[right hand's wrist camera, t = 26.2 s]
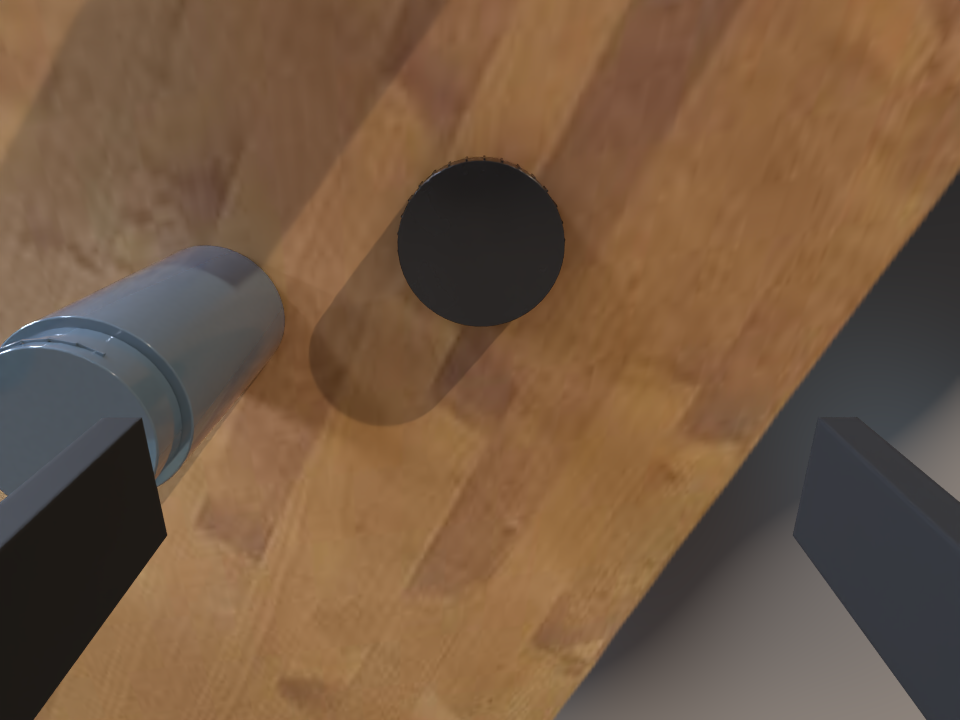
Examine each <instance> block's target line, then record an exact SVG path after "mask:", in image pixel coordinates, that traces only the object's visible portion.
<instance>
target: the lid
mask: <svg viewBox="0 0 960 720" xmlns="http://www.w3.org/2000/svg"><path fill="white" fill-rule="evenodd" d="M547 192H548V190H547V189H546V188H545V186H542V185H541V184H540V183H539V182H538V181H537V180H536V179H535V176H534V175H533V174H531V175H530V174H529V173H528V172H527V171H525V170H524V169H522V168H520V166H519V165H518V164H517V165H515V164H512V163H510V162H508V161H504V160H503V158H501V159H497V158H490V157H485V156H484V155H483V157H473V158H468V157H466V158H465V159H462V160H458V161H455V162H452V163H451V161H450V162H449V163H448V165H445V166H444V167H442V168H440V169H439V170H437V171H436V170H434V171H433V173H432V175H431V176H429V177H428V178H427V179H426V180H425V181H424V182H423V181H422V182H421V183H420V184H419V188H418V189H417V191H416V192H415V194H414V195H412V196H411V197H410V198H409V200H408V201H409V203H408V205H407V206H406V208H405V210H404V212H403V214H402V215H401V218H402V219H401V222H400V227H399V231H398V234H397V235H398V255H399V260H400V265H401V268H402V271H403V274H404V276H405V278H406V281H407V283H408V284H409V286H410V288H411V289H412V291H413V292H414V293H415V295H416V296H417V297H418V298H419V299H420V301H421V302H423V303H424V304H425V305H426V306H427V307H428V308H429V309H431V310H432V311H433V312H435V313H436V314H438V315H440V316H442V317H443V318H445V319H448V320H450V321H453V322H455V323H459V324H463V325H469V326H494V325H499V324H503V323H507V322H509V321H512V320H515V319H517V318H519V317H521V316H522V315H524V314H526V313H527V312H529V311H530V310H532V309H533V308H534V307H535V306H536V305H538V304H539V303H540V302H541V301H542V300H543V299H544V297H545V296H546V295H547V294H548V293H549V291H550V290H551V288H552V286H553V285H554V283H555V281H556V279H557V277H558V275H559V272H560V269H561V266H562V262H563V258H564V246H565V238H564V230H563V225H562V224H563V221H562V220H561V218H560V215H559V212H558V210H557V208H556V207H557V205H556V203H555V202H554V201H553V200H552V199H551V197H550V196H549V194H548V193H547Z"/></svg>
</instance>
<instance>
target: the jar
mask: <svg viewBox="0 0 960 720" xmlns="http://www.w3.org/2000/svg"><path fill="white" fill-rule="evenodd" d="M284 326H285V316H284V308H283V304H282V301H281V298H280V296H279V293H278V291H277V289H276V287H275V286H274V284H273V282H272V281H271V280H270V278H269V277H268V276H267V274H266V273H265V272H264V271H263V270H262V269H261V268H260V267H259V266H257V265H256V264H255V263H254V262H252V261H251V260H249V259H248V258H246V257H245V256H243V255H241V254H239V253H237V252H235V251H232V250H229V249H226V248H222V247H217V246H194V247H189V248H185V249H182V250H180V251H178V252H175V253H173V254H171V255H169V256H167V257H165V258H163V259H161V260H159V261H157V262H155V263H153V264H151V265H149V266H147V267H145V268H143V269H141V270H138V271H136V272H134V273H132V274H130V275H128V276H126V277H124V278H122V279H120V280H118V281H116V282H114V283H112V284H110V285H108V286H106V287H104V288H102V289H99V290H97V291H95V292H93V293H91V294H89V295H87V296H85V297H83V298H81V299H79V300H77V301H75V302H73V303H71V304H69V305H67V306H65V307H63V308H60V309H58V310H56V311H54V312H52V313H50V314H48V315H46V316H44V317H42V318H40V319H38V320H36V321H34V322H32V323H30V324H28V325H26V326H24V327H22V328H21V329H19V330H18V331H16V332H15V333H13V334H12V335H11V336H10V337H9V338H8V339H7V340H6V341H5V342H4V343H3V344H2V346H1V347H0V490H1V491H3V492H4V494H6V495H10V494H11V493H12V492H13V491H15V490H16V489H17V488H18V487H19V486H21V485H22V484H23V483H24V482H25V481H27V480H28V479H29V478H30V477H31V476H33V475H34V474H35V473H36V472H37V471H39V470H40V469H41V468H42V467H43V466H45V465H46V464H47V463H48V462H49V461H51V460H52V459H53V458H54V457H55V456H57V455H58V454H59V453H60V452H61V451H63V450H64V449H65V448H66V447H68V446H69V445H70V444H71V443H72V442H74V441H75V440H76V439H77V438H78V437H80V436H81V435H82V434H83V433H84V432H86V431H87V430H88V429H89V428H90V427H92V426H93V425H94V424H95V423H96V422H98V421H99V420H100V419H101V418H102V417H142V420H143V425H144V429H145V434H146V439H147V443H148V448H149V453H150V457H151V462H152V467H153V471H154V476H155V481H156V485H157V487H158V486H160V485H162V484H163V483H165V482H166V481H167V480H169V479H170V478H171V477H172V476H173V475H174V474H175V473H176V472H177V471H178V470H179V469H180V468H181V467H182V465H183V464H184V463H185V462H186V461H187V459H188V458H189V457H190V456H191V454H192V453H193V452H194V451H195V450H196V448H197V447H198V446H199V445H200V444H201V442H202V441H203V440H204V439H205V437H206V436H207V435H208V434H209V433H210V431H211V430H212V429H213V428H214V427H215V425H216V424H217V423H218V422H219V420H220V419H221V418H222V417H223V416H224V414H225V413H226V412H227V411H228V410H229V408H230V407H231V406H232V405H233V403H234V402H235V401H236V400H237V399H238V397H239V396H240V395H241V394H242V393H243V391H244V390H245V389H246V388H247V386H248V385H249V384H250V383H251V382H252V380H253V379H254V378H255V377H256V376H257V374H258V373H259V372H260V371H261V369H262V368H263V367H264V366H265V365H266V363H267V362H268V361H269V360H270V359H271V357H272V356H273V355H274V353H275V352H276V350H277V349H278V347H279V345H280V343H281V340H282V337H283V333H284Z"/></svg>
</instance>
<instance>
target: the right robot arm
mask: <svg viewBox="0 0 960 720" xmlns="http://www.w3.org/2000/svg"><path fill="white" fill-rule="evenodd" d="M166 536H167V532H166V527H165V523H164V518H163V513H162V509H161V504H160V499H159V495H158V490H157V485H156V481H155V476H154V471H153V467H152V462H151V457H150V453H149V448H148V443H147V439H146V434H145V429H144V425H143V420H142V417H102V418H101V419H100V420H99V421H98V422H96V423H95V424H94V425H93V426H92V427H90V428H89V429H88V430H87V431H86V432H84V433H83V434H82V435H81V436H80V437H78V438H77V439H76V440H75V441H74V442H72V443H71V444H70V445H69V446H68V447H66V448H65V449H64V450H63V451H61V452H60V453H59V454H58V455H57V456H55V457H54V458H53V459H52V460H51V461H49V462H48V463H47V464H46V465H45V466H43V467H42V468H41V469H40V470H39V471H37V472H36V473H35V474H34V475H33V476H31V477H30V478H29V479H28V480H27V481H25V482H24V483H23V484H22V485H21V486H19V487H18V488H17V489H16V490H15V491H13V492H12V493H11V494H10V495H8V496H7V497H6V498H5V499H4V500H2V501H1V502H0V720H34V718H35V717H36V716H37V714H38V713H39V711H40V710H41V709H42V707H43V706H44V705H45V703H46V702H47V700H48V699H49V698H50V696H51V695H52V694H53V692H54V691H55V689H56V688H57V687H58V685H59V684H60V682H61V681H62V680H63V678H64V677H65V676H66V674H67V673H68V671H69V670H70V669H71V667H72V666H73V665H74V663H75V662H76V660H77V659H78V658H79V656H80V655H81V654H82V652H83V651H84V649H85V648H86V647H87V645H88V644H89V643H90V641H91V640H92V638H93V637H94V636H95V634H96V633H97V631H98V630H99V629H100V627H101V626H102V625H103V623H104V622H105V620H106V619H107V618H108V616H109V615H110V614H111V612H112V611H113V609H114V608H115V607H116V605H117V604H118V603H119V601H120V600H121V598H122V597H123V596H124V594H125V593H126V591H127V590H128V589H129V587H130V586H131V585H132V583H133V582H134V580H135V579H136V578H137V576H138V575H139V574H140V572H141V571H142V569H143V568H144V567H145V565H146V564H147V563H148V561H149V560H150V558H151V557H152V556H153V554H154V553H155V552H156V550H157V549H158V547H159V546H160V545H161V543H162V542H163V540H164V539H165V538H166ZM793 536H794V538H795V539H796V540H797V542H798V543H799V545H800V546H801V547H802V549H803V550H804V552H805V553H806V554H807V556H808V557H809V558H810V560H811V561H812V562H813V564H814V565H815V567H816V568H817V569H818V571H819V572H820V574H821V575H822V576H823V578H824V579H825V580H826V582H827V583H828V585H829V586H830V587H831V589H832V590H833V591H834V593H835V594H836V596H837V597H838V598H839V600H840V601H841V602H842V604H843V605H844V607H845V608H846V609H847V611H848V612H849V614H850V615H851V616H852V618H853V619H854V620H855V622H856V623H857V625H858V626H859V627H860V629H861V630H862V631H863V633H864V634H865V636H866V637H867V638H868V640H869V641H870V643H871V644H872V645H873V647H874V648H875V649H876V651H877V652H878V653H879V655H880V656H881V658H882V659H883V660H884V662H885V663H886V665H887V666H888V667H889V669H890V670H891V671H892V673H893V674H894V676H895V677H896V678H897V680H898V681H899V682H900V684H901V685H902V687H903V688H904V689H905V691H906V692H907V694H908V695H909V696H910V698H911V699H912V700H913V702H914V703H915V705H916V706H917V707H918V709H919V710H920V711H921V713H922V714H923V716H924V717H925V718H926V720H960V502H959V501H957V500H956V499H955V498H954V497H953V496H952V495H950V494H949V493H948V492H947V491H945V490H944V489H943V488H942V487H941V486H939V485H938V484H937V483H936V482H935V481H933V480H932V479H931V478H930V477H929V476H927V475H926V474H925V473H924V472H923V471H921V470H920V469H919V468H918V467H917V466H915V465H914V464H913V463H912V462H910V461H909V460H908V459H907V458H906V457H905V456H903V455H902V454H901V453H900V452H898V451H897V450H896V449H895V448H894V447H892V446H891V445H890V444H889V443H888V442H886V441H885V440H884V439H883V438H882V437H880V436H879V435H878V434H877V433H876V432H874V431H873V430H872V429H871V428H870V427H868V426H867V425H866V424H865V423H864V422H862V421H861V420H860V419H859V418H857V417H823V418H822V417H819V418H818V420H817V425H816V429H815V434H814V439H813V444H812V448H811V453H810V458H809V462H808V467H807V471H806V476H805V481H804V486H803V490H802V495H801V500H800V504H799V509H798V514H797V518H796V523H795V527H794V532H793Z"/></svg>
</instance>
